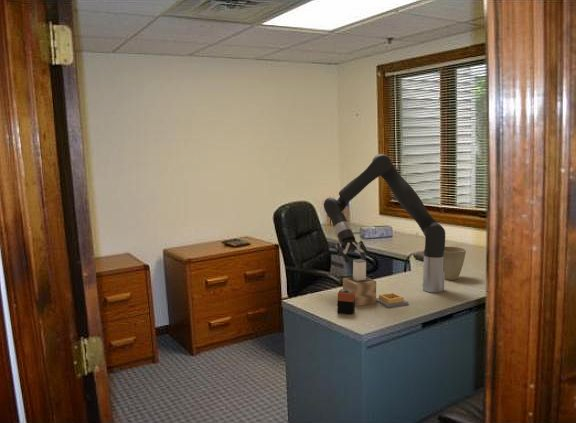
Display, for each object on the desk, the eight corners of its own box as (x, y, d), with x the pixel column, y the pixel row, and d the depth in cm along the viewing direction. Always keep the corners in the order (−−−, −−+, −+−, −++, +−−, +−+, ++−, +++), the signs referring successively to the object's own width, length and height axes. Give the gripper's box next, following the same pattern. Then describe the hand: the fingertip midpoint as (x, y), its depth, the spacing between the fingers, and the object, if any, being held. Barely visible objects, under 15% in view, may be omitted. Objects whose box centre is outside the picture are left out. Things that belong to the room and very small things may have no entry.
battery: (339, 310, 211) (339, 287, 210) (355, 311, 209) (355, 289, 207) (337, 313, 207) (337, 290, 205) (352, 315, 205) (353, 292, 203)
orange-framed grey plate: (394, 298, 227) (394, 291, 227) (408, 304, 217) (408, 297, 217) (373, 300, 223) (374, 294, 223) (387, 308, 213) (387, 301, 213)
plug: (360, 278, 225) (361, 258, 224) (365, 280, 221) (366, 260, 220) (353, 279, 223) (353, 259, 222) (357, 281, 219) (358, 261, 218)
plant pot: (452, 273, 271) (454, 245, 269) (470, 280, 257) (472, 250, 255) (429, 276, 266) (430, 247, 264) (447, 283, 252) (448, 252, 250)
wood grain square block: (363, 296, 231) (363, 274, 229) (375, 302, 221) (376, 280, 219) (342, 299, 226) (342, 276, 225) (354, 305, 216) (355, 282, 215)
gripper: (333, 229, 227) (345, 258, 218) (360, 227, 233) (372, 255, 224) (328, 238, 233) (339, 267, 224) (354, 236, 238) (366, 264, 229)
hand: (356, 261), depth 224 cm, fingers open, 8 cm apart
